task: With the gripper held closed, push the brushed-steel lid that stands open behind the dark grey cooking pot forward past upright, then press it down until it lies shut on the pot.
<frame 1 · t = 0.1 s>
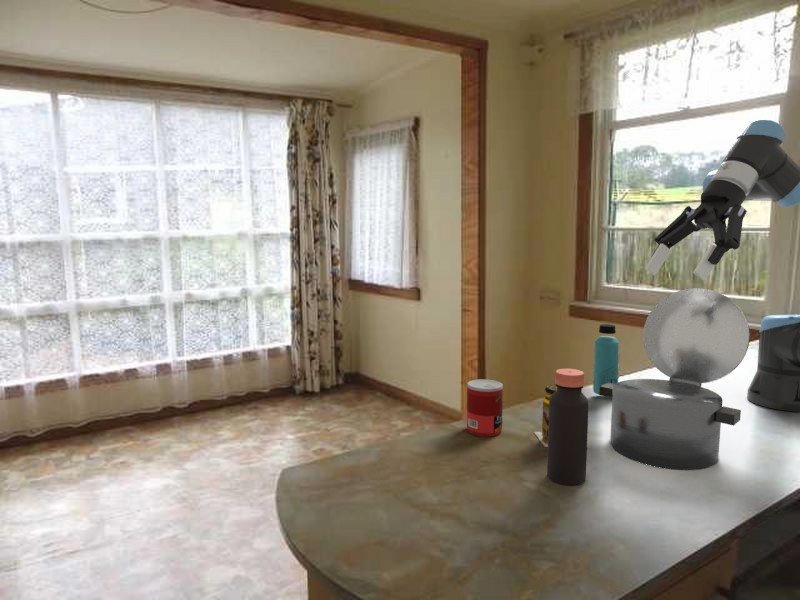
hand: (672, 274, 110), 36 cm above the worktop, tool tilted 35°, fingers open, 13 cm apart
beverage bottle: (604, 398, 144), on the worktop
pot: (662, 448, 111), on the worktop
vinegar: (566, 479, 98), on the worktop
lid: (694, 337, 118), point 21 cm above the worktop, hinge at 108.0°
condiment: (555, 440, 116), on the worktop
canned food: (484, 431, 122), on the worktop
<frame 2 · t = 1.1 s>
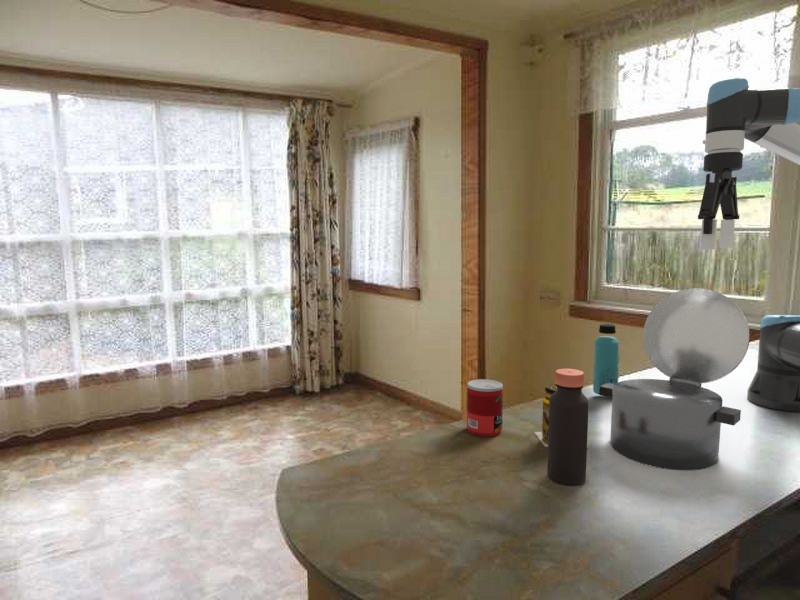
hand: (717, 248, 123), 40 cm above the worktop, tool pointing down, fingers open, 13 cm apart
nothing on the worktop moved.
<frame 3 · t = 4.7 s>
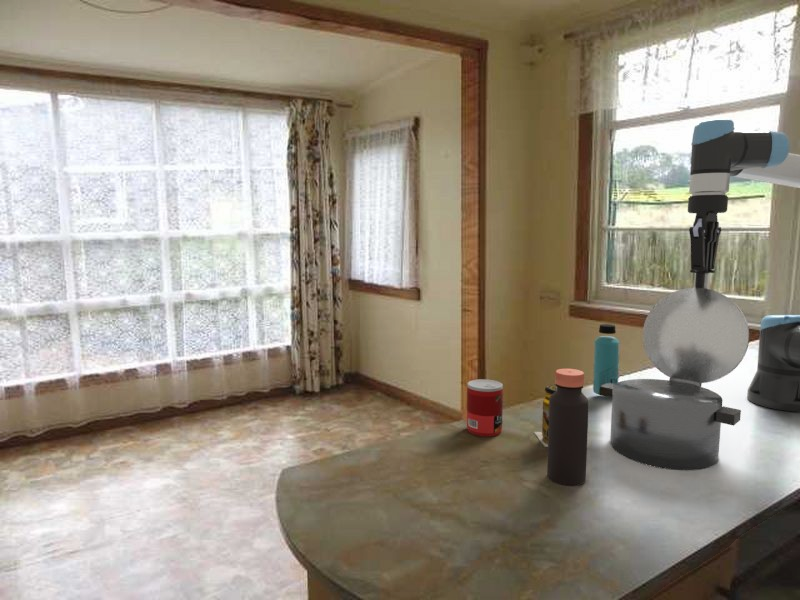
hand: (700, 302, 120), 29 cm above the worktop, tool pointing down, fingers closed
lid: (693, 337, 118), point 21 cm above the worktop, hinge at 106.2°, touching gripper
everything else where it was.
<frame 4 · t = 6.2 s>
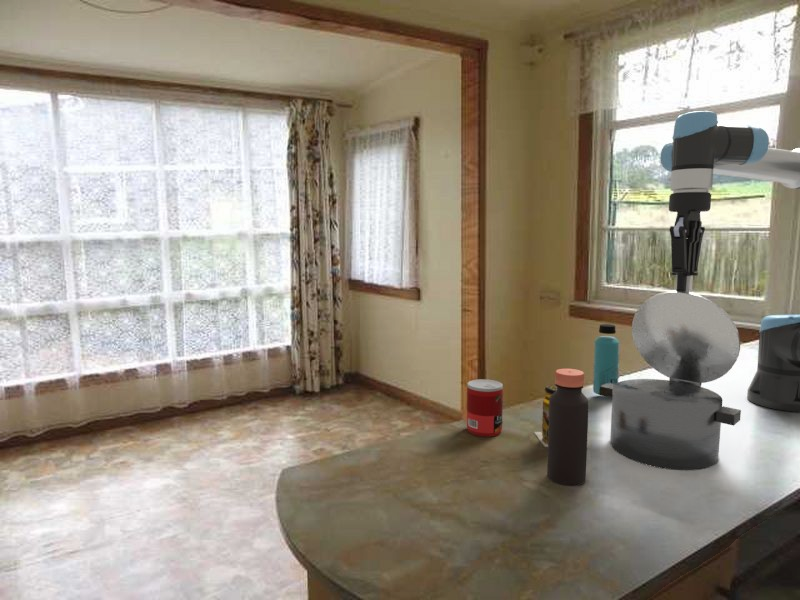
hand: (682, 306, 112), 29 cm above the worktop, tool pointing down, fingers closed
lid: (684, 337, 114), point 22 cm above the worktop, hinge at 72.6°, touching gripper
everything else where it was.
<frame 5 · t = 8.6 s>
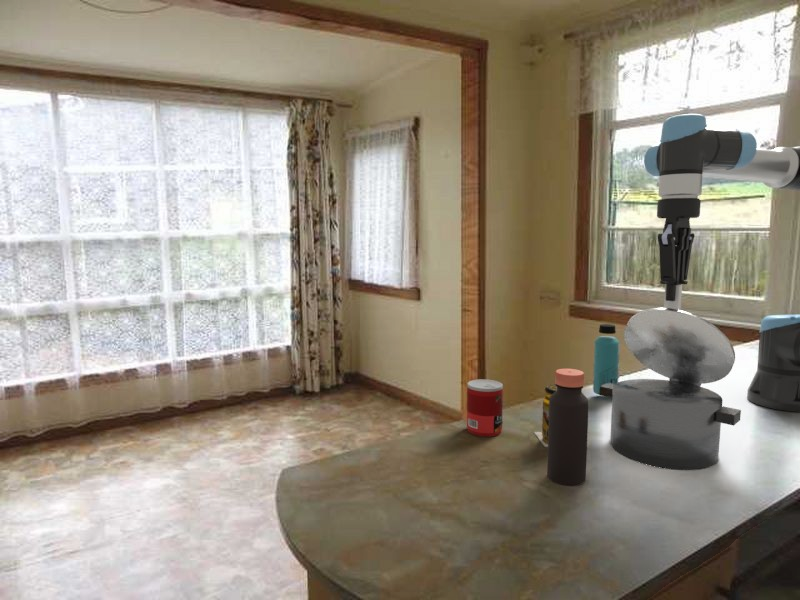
hand: (671, 316, 108), 28 cm above the worktop, tool pointing down, fingers closed
lid: (678, 345, 112), point 21 cm above the worktop, hinge at 53.1°, touching gripper
everything else where it was.
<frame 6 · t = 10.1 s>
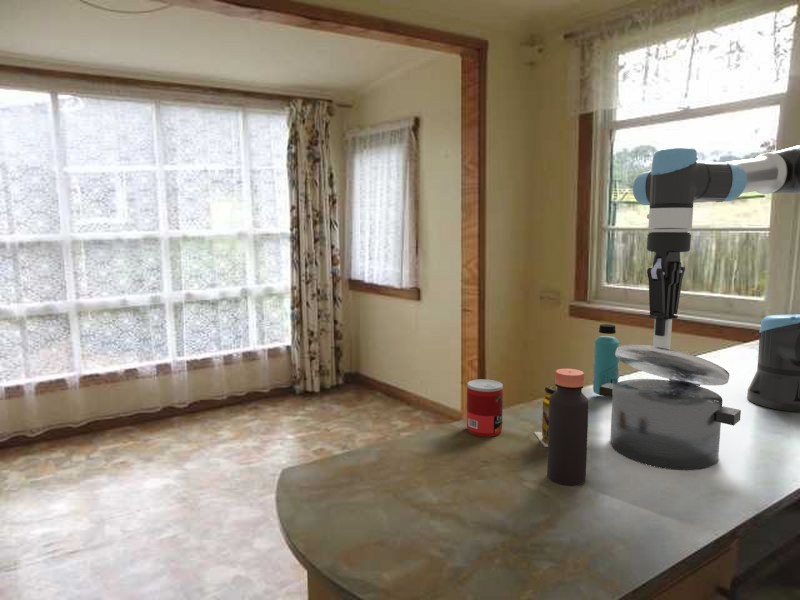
hand: (661, 351, 106), 21 cm above the worktop, tool pointing down, fingers closed
lid: (671, 361, 110), point 18 cm above the worktop, hinge at 27.6°, touching gripper
everything else where it was.
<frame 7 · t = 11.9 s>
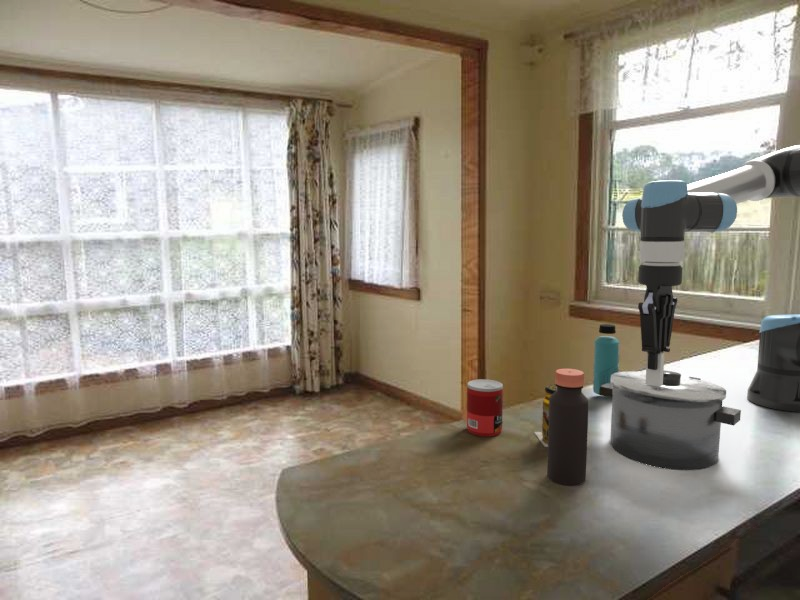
hand: (654, 384, 105), 15 cm above the worktop, tool pointing down, fingers closed
lid: (667, 380, 109), point 14 cm above the worktop, hinge at 4.9°, touching gripper
everything else where it was.
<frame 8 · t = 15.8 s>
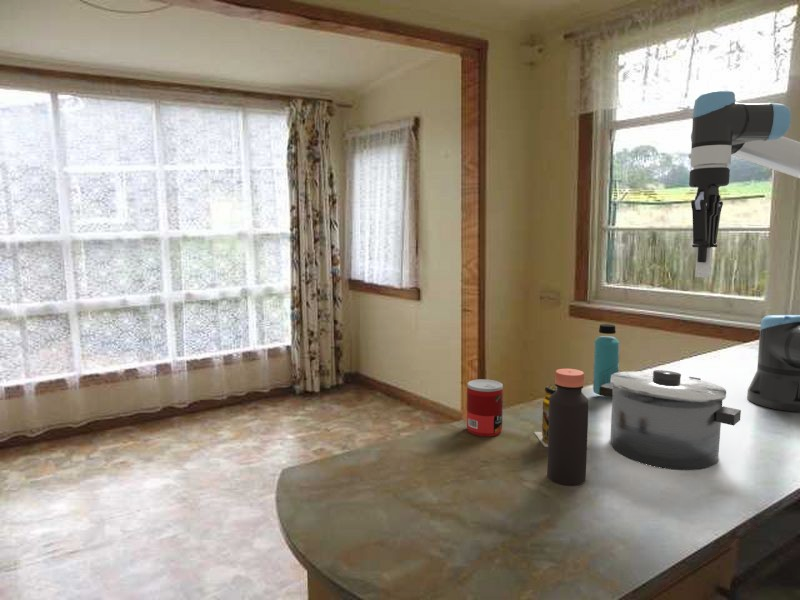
hand: (702, 277, 119), 34 cm above the worktop, tool pointing down, fingers closed
lid: (667, 380, 109), point 14 cm above the worktop, hinge at 4.8°
everything else where it was.
at the end: lid at +5° (first picture: +108°); the gripper is holding nothing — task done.
